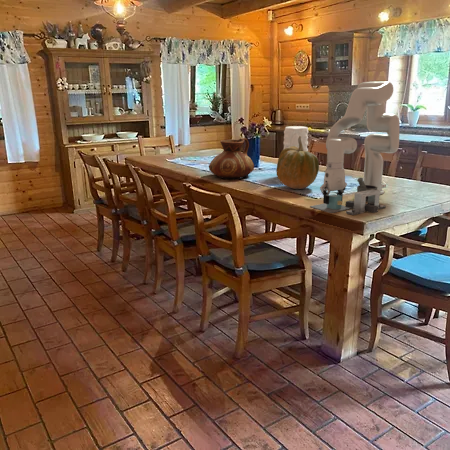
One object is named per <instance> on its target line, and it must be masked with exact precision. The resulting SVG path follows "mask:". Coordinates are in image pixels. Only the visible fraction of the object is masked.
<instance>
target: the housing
mask: <svg viewBox="0 0 450 450" xmlns="http://www.w3.org/2000/svg"><path fill="white" fill-rule="evenodd" d="M380 195H381V194H380V191H379V190H374V189H372V190H366V191H361V192H357V191H356V192H354V197H353V198H354V199H353V201H354V209H349V210H345V214H346V213H347V215H350V216H356V215H359V214H364V212H365V213H366V211H365V204H366V202H367V204H370V205H375V206H378V210H382V209H385V208H386V205H383V204H380ZM366 196H368V201H366Z"/></svg>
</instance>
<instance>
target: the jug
mask: <svg viewBox="0 0 450 450" xmlns="http://www.w3.org/2000/svg"><path fill="white" fill-rule="evenodd" d="M243 144H245V145H244V149H243V151H241V149H242V147H243ZM220 145H221V146H222V148H223V151H222V152H221V153H219V154H217V155H216V156H214V157H213V159H211V161H210V163H209V165H208V169H209V171H210V172H211V173H212V174H213V175H215V176H216V177H219V178H220V179H224V180H235V179H237V180H238V179H243V178H246V177H247V176H249V175H250V174H251V173H252V172H253V171H254V169H255V164H254V162H253V160H252V159H251V157H250V156H248V150H249V147H250V142H249V140H248V138H245V137H241V138H239V139H232V138H229V139H223V140H222V139H221V140H220Z"/></svg>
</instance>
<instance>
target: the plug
mask: <svg viewBox="0 0 450 450" xmlns="http://www.w3.org/2000/svg"><path fill="white" fill-rule="evenodd" d="M328 196H329V204H327V208H331V209H340V208H341V205H343V198H342V196H341V195H337V193H332V194H329V195H328Z"/></svg>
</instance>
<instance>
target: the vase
mask: <svg viewBox="0 0 450 450" xmlns="http://www.w3.org/2000/svg"><path fill="white" fill-rule="evenodd" d="M309 132H310V131H309V127H308V126H300V125H298V126H297V125H293V126H292V125H291V126H289V125H288V126H285V128H284V130H283V134H284V135H283V142H282V143H283V149H282V150H284V149H285V148H288V147H291V146H295V147H297V148H298V149H299V143H298V138H299V136H301V142H302V145H303V150H304V151H308V152H309V148H308V145H309V141H308V139H309Z"/></svg>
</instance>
